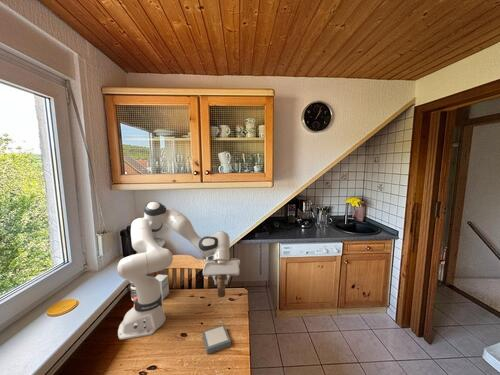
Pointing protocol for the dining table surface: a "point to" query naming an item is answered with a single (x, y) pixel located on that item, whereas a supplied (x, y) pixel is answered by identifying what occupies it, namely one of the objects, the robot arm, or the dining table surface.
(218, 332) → the base
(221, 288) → the pepper mill
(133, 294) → the decorative candle
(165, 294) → the supplement box
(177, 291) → the dining table surface
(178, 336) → the dining table surface
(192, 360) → the dining table surface
